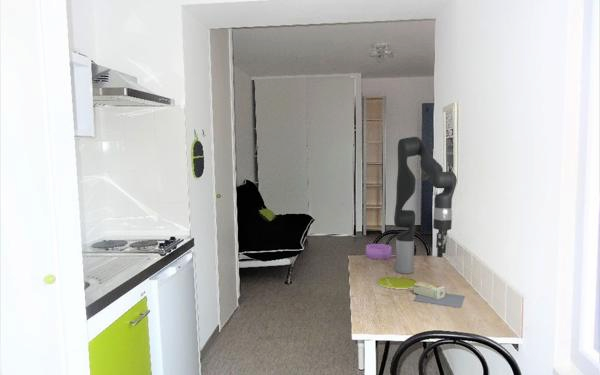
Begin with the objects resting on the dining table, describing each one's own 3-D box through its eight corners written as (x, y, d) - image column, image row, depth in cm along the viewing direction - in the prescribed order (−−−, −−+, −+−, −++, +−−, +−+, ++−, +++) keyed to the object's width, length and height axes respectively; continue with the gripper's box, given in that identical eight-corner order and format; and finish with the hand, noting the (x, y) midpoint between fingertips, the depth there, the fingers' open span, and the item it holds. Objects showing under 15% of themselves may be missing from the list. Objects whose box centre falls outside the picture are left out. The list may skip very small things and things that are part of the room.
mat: (421, 290, 208) (421, 289, 208) (464, 296, 200) (464, 295, 200) (414, 301, 194) (414, 300, 194) (460, 308, 186) (460, 307, 186)
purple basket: (365, 258, 270) (365, 237, 269) (366, 253, 285) (367, 232, 284) (407, 261, 265) (408, 239, 264) (407, 255, 279) (407, 234, 278)
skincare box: (437, 290, 194) (413, 283, 203) (437, 299, 194) (413, 293, 203) (445, 286, 198) (420, 281, 207) (445, 296, 199) (420, 290, 208)
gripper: (436, 215, 202) (435, 250, 203) (430, 219, 189) (429, 257, 191) (453, 216, 199) (452, 252, 200) (449, 221, 186) (448, 259, 187)
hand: (441, 254), depth 195 cm, fingers open, 8 cm apart
